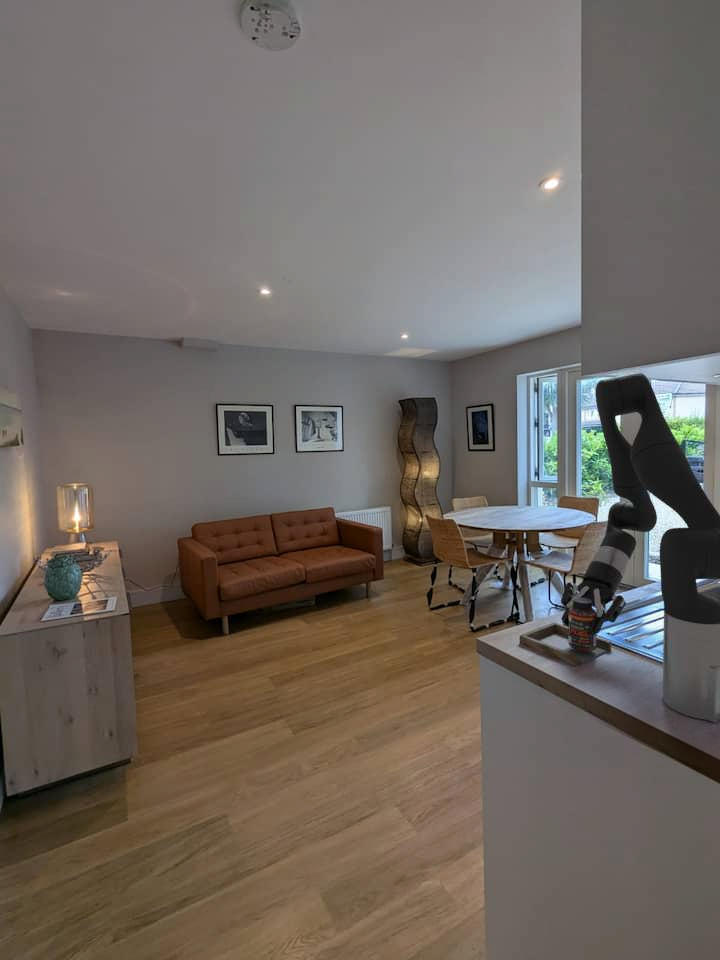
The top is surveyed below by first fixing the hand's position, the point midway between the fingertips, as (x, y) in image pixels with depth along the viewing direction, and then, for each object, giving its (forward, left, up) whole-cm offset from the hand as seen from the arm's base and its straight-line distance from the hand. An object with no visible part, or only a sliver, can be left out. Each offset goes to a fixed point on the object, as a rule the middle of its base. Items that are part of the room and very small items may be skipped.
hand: (578, 628), depth 105 cm
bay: (+4, -2, -6) cm, 8 cm away
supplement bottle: (0, -2, -5) cm, 5 cm away
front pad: (0, -2, -6) cm, 7 cm away
